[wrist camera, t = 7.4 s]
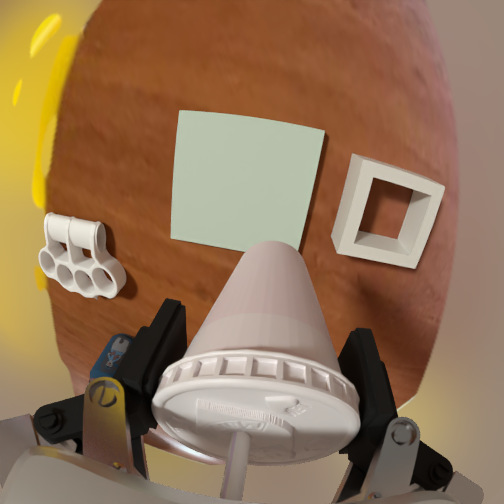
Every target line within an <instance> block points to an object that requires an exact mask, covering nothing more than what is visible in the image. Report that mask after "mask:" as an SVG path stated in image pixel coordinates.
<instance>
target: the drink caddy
mask: <svg viewBox="0 0 504 504" xmlns="http://www.w3.org/2000/svg"><path fill="white" fill-rule="evenodd" d="M373 177H375V178H378V179H382V180H385V181H388V182H392V183H395V184H398V185H401V186H404V187H407V188H411V189H414V190H413V194H412V197H411V200H410V204H409V207H408V210H407V213H406V216H405V219H404V222H403V225H402V228H401V231H400V233H399V236H398V239H393V238H389V237H385V236H381V235H376V234H372V233H368V232H363V231H359V230H358V229H359V225H360V222H361V219H362V216H363V212H364V209H365V205H366V202H367V198H368V195H369V191H370V187H371V184H372V180H373ZM444 189H445V186H443V185H441V184H439V183H437V182H435V181H433V180H432V179H430V178H428V177H425V176H422V175H420V174H417V173H414V172H411V171H409V170H406V169H403V168H400V167H397V166H394V165H391V164H387V163H384V162H381V161H378V160H374V159H371V158H368V157H364V156H361V155H357V154H353V153H352V157H351V161H350V166H349V170H348V174H347V178H346V182H345V186H344V190H343V194H342V198H341V202H340V206H339V209H338V213H337V217H336V221H335V224H334V228H333V231H332V235H331V238H332V240H333V243H334V246H335V249H336V252H337V253H338V254H344V255H349V256H354V257H359V258H364V259H369V260H374V261H379V262H384V263H389V264H394V265H399V266H404V267H408V268H413V269H415V268H416V266H417V263H418V261H419V259H420V256H421V254H422V252H423V249H424V247H425V244H426V242H427V239H428V236H429V234H430V231H431V228H432V226H433V223H434V220H435V217H436V214H437V211H438V208H439V205H440V202H441V199H442V196H443V193H444Z"/></svg>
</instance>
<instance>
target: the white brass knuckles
mask: <svg viewBox="0 0 504 504" xmlns="http://www.w3.org/2000/svg"><path fill="white" fill-rule="evenodd" d="M44 230H45V238H46V246H45V247H44V248H42V249H41V250H40V252H39V262H40V266H41V268H42V270H43V271H44V273H45V274H46V275H47V276H48V277H49V278H54V279H55V280H57V281H58V282H59V283H60V284H61V285H62V286H63V287H64V288H66V289H67V290H69V291H70V292H78V293H80V294H82V295H83V296H84V297H91V298H95V299H98V295H102V296H105V297H107V298H109V299H110V298H113V297H115V296H116V295H117V294H118V292H119V291H120V290H121V289H122V287H123V286H124V285H125V283H126V273H125V270H124V268H123V266H122V265H121V264H120V262H119V261H118V260H117V259H115V258H114V257H112V256H111V255H110V254H109V253H108V251H107V250H106V231H105V227H104V225H103V224H102V223H101V222H98V221H97V222H92V221H87V220H82V219H77V218H75V217H73V216H72V217H68V216H63V215H58V214H54V213H53V212H51V213H48V214H47V215H46V216H45V220H44ZM59 242H62V243H66V244H67V250H68V252H67V251H65V250H64V248H63V247H62V245H61V244H60V243H59ZM82 248H85V249H89V250H91V254H92V257H93V259H92V258H88V257H85V256H84V254H83V252H82ZM52 258H53V259H52ZM53 260H54V261H53ZM67 267H68V268H69V270H70V271H71V273H72V275H73V276H72V275H71V274H70V272H69V270H68V268H67ZM103 269H104V270H105V271H106V272H108V274H109V275H110V276H111V278H112V281H113V282H112V281H110V280H109V279H108V278H107V277H106V275H105V273H104V271H103ZM86 273H87V274H88V275H89V277H90V278H91V280H92V282H91V281H90V279H89V278H88V276H87V274H86Z"/></svg>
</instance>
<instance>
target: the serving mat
mask: <svg viewBox="0 0 504 504" xmlns="http://www.w3.org/2000/svg"><path fill="white" fill-rule="evenodd" d="M324 133H325V131H323V130H319V129H315V128H310V127H306V126H301V125H296V124H291V123H285V122H280V121H274V120H268V119H261V118H255V117H248V116H240V115H232V114H222V113H212V112H200V111H184V110H179V119H178V128H177V137H176V148H175V160H174V174H173V190H172V212H171V238H172V239H178V240H183V241H189V242H194V243H199V244H205V245H210V246H216V247H221V248H227V249H232V250H238V251H243V252H246V251H247V250H248V249H249V248H250V247H252V246H253V245H255V244H257V243H260V242H264V241H280V242H283V243H286V244H288V245H290V246H292V247H293V248H295V249H296V250H297V251H298V249H299V245H300V241H301V237H302V233H303V228H304V224H305V220H306V216H307V212H308V207H309V203H310V199H311V194H312V190H313V185H314V181H315V176H316V172H317V167H318V162H319V158H320V153H321V148H322V143H323V138H324Z"/></svg>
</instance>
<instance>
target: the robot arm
mask: <svg viewBox="0 0 504 504" xmlns="http://www.w3.org/2000/svg"><path fill="white" fill-rule="evenodd" d="M186 351H187V334H186V311H185V306H184V305H181V301H178V300H173V299H168V298H167V299H165V301H164V302H163V304H162V306H161V308H160V309H159V311H158V313H157V315H156V316H155V318H154V320H153V322H152V323H151V325H150V327H146V326H143V327H141V328H140V330H139V331H138V333H137V335H136V336H135V338H134V340H133V342H132V343H131V345H130V347H129V349H128V350H127V352H126V354H125V356H124V357H123V359H122V361H121V363H120V365H119V366H118V368H117V370H116V372H115V374H114V376H113V377H112V378H111V377H99V378H96V379H94V380H92V381H91V382H90V383H89V384H88V385H87V387H86V389H85V394H82V395H79V396H76V397H73V398H69V399H65V400H62V401H59V402H55V403H51V404H47V405H44V406H42V407H40V408H39V409H38V410H37V411H36V413H35V414H34V415H33V416H31V415H30V414H27V415H22V416H18V417H14V418H10V419H6V420H1V421H0V484H1V487H2V491H1V494H0V504H263V503H251V502H242V501H235V500H228V499H221V498H215V497H210V496H204V495H200V494H195V493H191V492H186V491H182V490H178V489H174V488H171V487H167V486H164V485H161V484H157V483H154V482H151V481H150V479H149V473H148V468H147V461H146V455H145V448H144V440H143V435H144V434H147V433H148V430H149V427H150V428H153V429H156V427H157V425H158V423H157V421H156V419H155V418H154V416H153V413H152V408H151V405H152V401H153V398H154V396H155V393H156V391H157V389H158V384H159V378H160V377H161V375H162V374H163V373H164V371H165V370H166V369H167V367H168V366H170V365H171V364H173V363H175V362H177V361H179V360H181V359H182V358H183V357H184V355H185V353H186ZM337 360H338V363H339V367H340V370H341V374H342V375H343V376H344V377H346V378H347V379H348V380H349V381H350V382H351V383H352V384H354V386H355V389H356V391H357V393H358V396H359V398H360V401H359V407H358V409H359V417H360V429H359V432H358V433H357V435H356V437H355V438H354V439H353V440H352V441H351V442H350V443H349V444H348V445H346V446H345V447H344V448H342V449H341V450H339V454H348V460H350V463H349V465H348V468H347V470H346V473H345V475H344V477H343V479H342V482H341V484H340V486H339V488H338V490H337V492H336V494H335V497H334V499H333V501H332V503H331V504H481V503H482V501H483V496H484V494H483V490H482V488H481V487H480V486H478V485H477V484H475V483H474V482H472V481H471V480H469V479H468V478H466V477H465V476H463V475H462V474H460V473H459V472H457V471H455V472H453V468H452V465H451V463H450V462H449V461H448V460H447V459H446V458H445V457H443V456H442V455H440V454H439V453H437V452H436V451H435V450H433V449H432V448H430V447H429V446H427V445H426V444H424V443H423V442H422V441H420V431H419V427H418V426H417V424H416V423H415V422H414V421H413V420H411V419H409V418H407V417H398V414H397V410H396V406H395V401H394V397H393V393H392V389H391V386H390V382H389V378H388V374H387V371H386V367H385V364H384V363H383V362H382V361H381V360H380V357H379V353H378V350H377V346H376V343H375V340H374V337H373V333H372V331H371V329H367V328H356V329H355V331H351V333H350V334H349V337H348V339H347V341H346V343H345V345H344V347H343V349H342V351H341V353H340V355H339V357H338V359H337Z"/></svg>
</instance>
